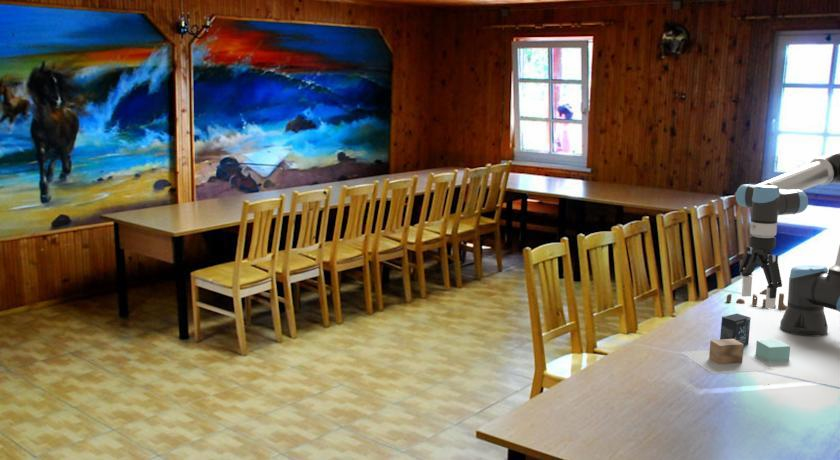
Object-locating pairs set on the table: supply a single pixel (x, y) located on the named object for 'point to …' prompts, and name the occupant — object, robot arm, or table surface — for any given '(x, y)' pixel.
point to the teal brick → (772, 350)
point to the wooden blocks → (754, 301)
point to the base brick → (726, 351)
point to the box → (735, 328)
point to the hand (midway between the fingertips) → (757, 301)
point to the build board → (714, 368)
